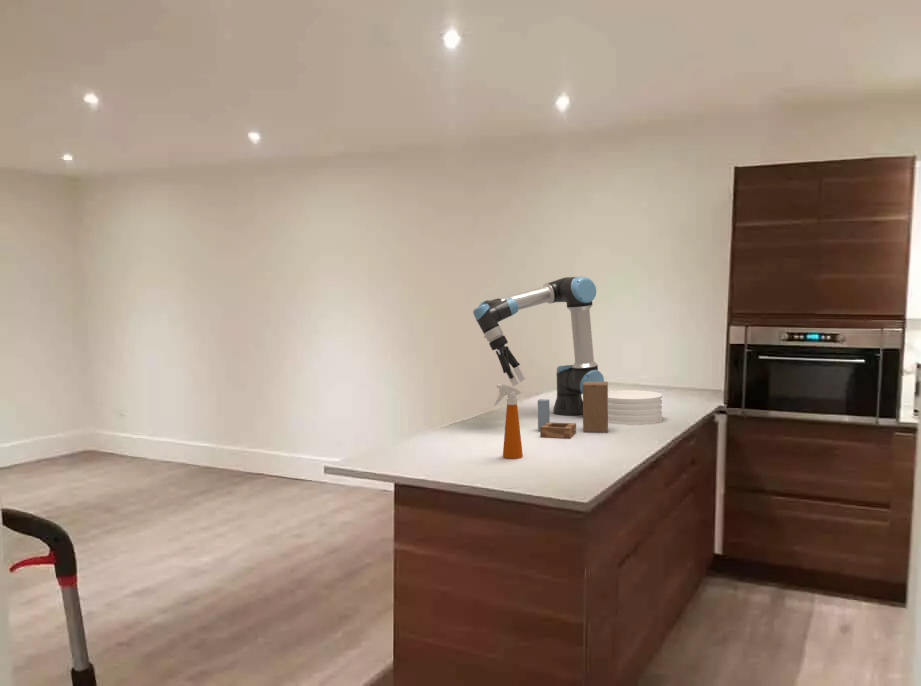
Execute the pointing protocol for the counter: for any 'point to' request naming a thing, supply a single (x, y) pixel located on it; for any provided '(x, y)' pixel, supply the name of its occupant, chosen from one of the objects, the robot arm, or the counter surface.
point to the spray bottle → (511, 423)
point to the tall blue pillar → (543, 412)
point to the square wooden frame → (558, 430)
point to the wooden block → (595, 406)
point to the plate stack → (634, 407)
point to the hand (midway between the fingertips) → (519, 382)
